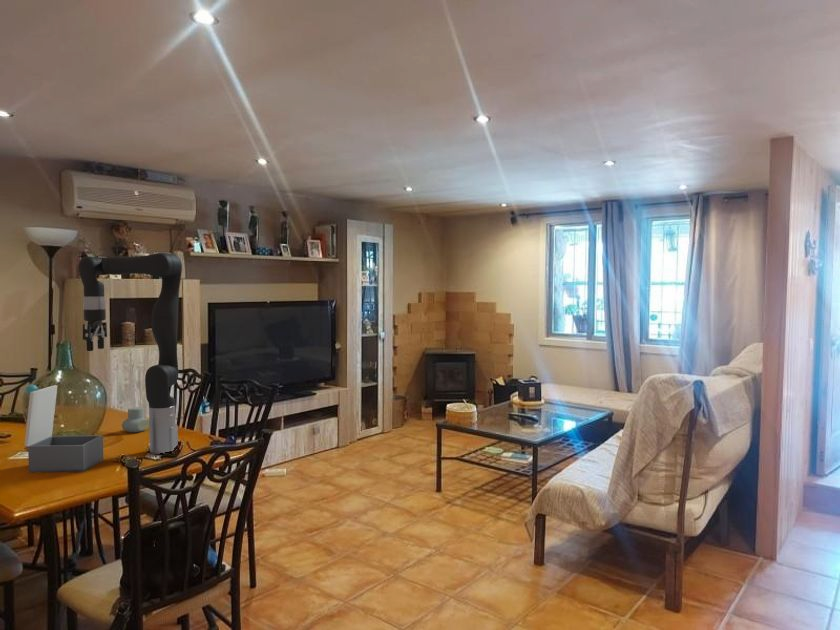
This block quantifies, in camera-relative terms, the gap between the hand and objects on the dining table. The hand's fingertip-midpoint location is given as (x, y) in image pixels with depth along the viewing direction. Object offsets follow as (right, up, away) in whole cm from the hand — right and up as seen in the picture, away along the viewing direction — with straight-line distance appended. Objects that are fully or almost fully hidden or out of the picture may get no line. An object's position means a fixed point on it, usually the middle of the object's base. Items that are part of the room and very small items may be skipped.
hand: (95, 349), depth 233 cm
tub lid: (-5, -21, -25) cm, 33 cm away
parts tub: (+3, -39, -24) cm, 46 cm away
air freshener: (+3, -37, +27) cm, 46 cm away
